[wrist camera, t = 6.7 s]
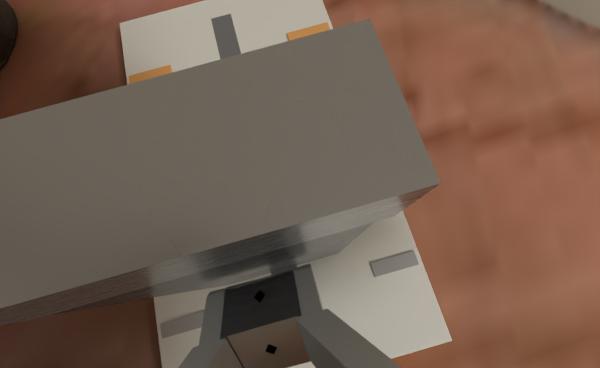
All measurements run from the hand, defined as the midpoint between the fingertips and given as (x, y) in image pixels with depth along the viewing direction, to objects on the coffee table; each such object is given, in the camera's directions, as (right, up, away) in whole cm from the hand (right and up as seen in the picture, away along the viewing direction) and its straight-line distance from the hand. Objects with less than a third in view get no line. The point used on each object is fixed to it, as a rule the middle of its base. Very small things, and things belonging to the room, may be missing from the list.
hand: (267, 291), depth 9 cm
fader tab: (0, 0, +5) cm, 5 cm away
